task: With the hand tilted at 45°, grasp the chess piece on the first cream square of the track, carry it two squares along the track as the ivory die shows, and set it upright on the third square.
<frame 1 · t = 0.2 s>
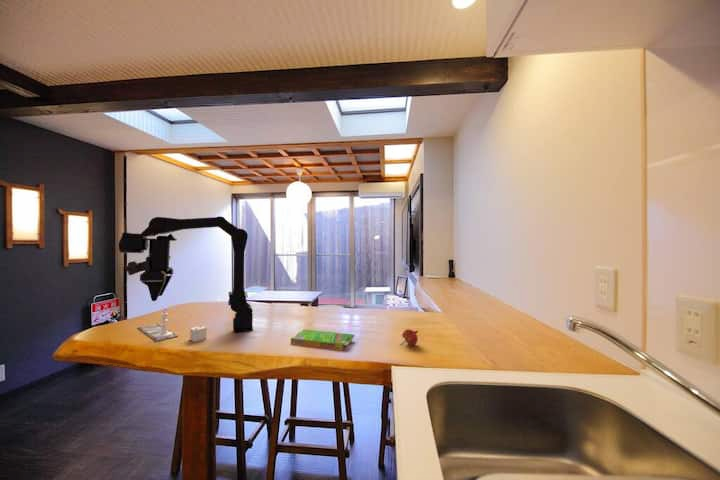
hand: (157, 298, 91), 15 cm above the breakfast bar, tool pointing down, fingers open, 9 cm apart
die: (198, 339, 93), on the breakfast bar
game box: (323, 343, 92), on the breakfast bar
chess piece: (164, 336, 95), resting on track board
track board: (156, 332, 100), on the breakfast bar
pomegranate: (409, 346, 90), on the breakfast bar
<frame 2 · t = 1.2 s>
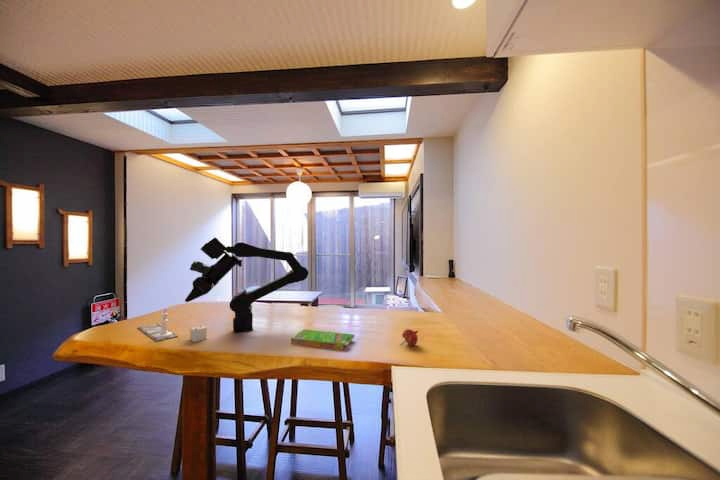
hand: (189, 298, 97), 13 cm above the breakfast bar, tool tilted 45°, fingers open, 9 cm apart
nothing on the breakfast bar moved.
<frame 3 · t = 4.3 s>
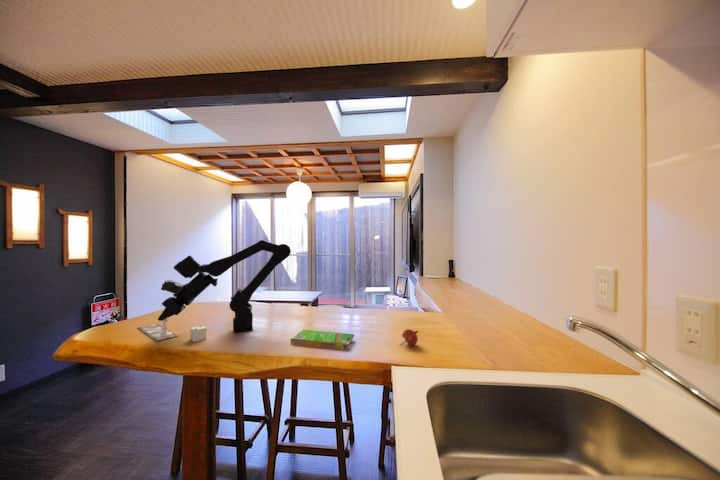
hand: (159, 319, 94), 7 cm above the breakfast bar, tool tilted 45°, fingers closed on chess piece
chess piece: (164, 336, 95), resting on track board, touching gripper
everything else where it was.
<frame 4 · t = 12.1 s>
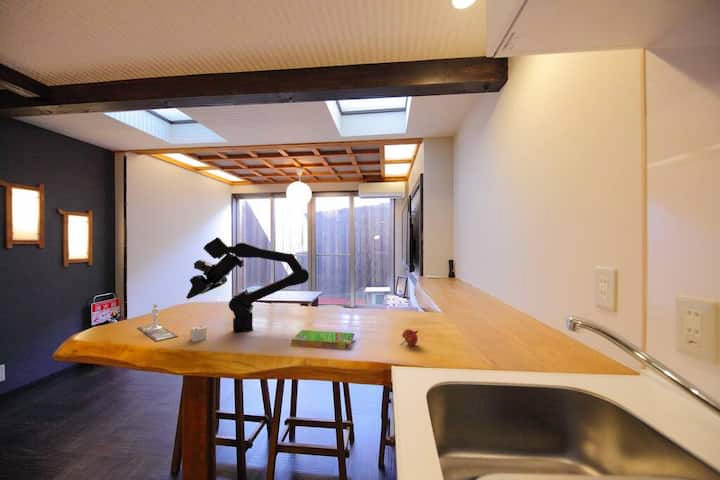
hand: (194, 295, 102), 14 cm above the breakfast bar, tool tilted 45°, fingers open, 9 cm apart
chess piece: (154, 330, 101), resting on track board
everything else where it was.
at the end: chess piece 0.2 cm from the target spot on the track board, point 0.1 cm above the track board's base; chess piece tilted 0°; the gripper is holding nothing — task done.
